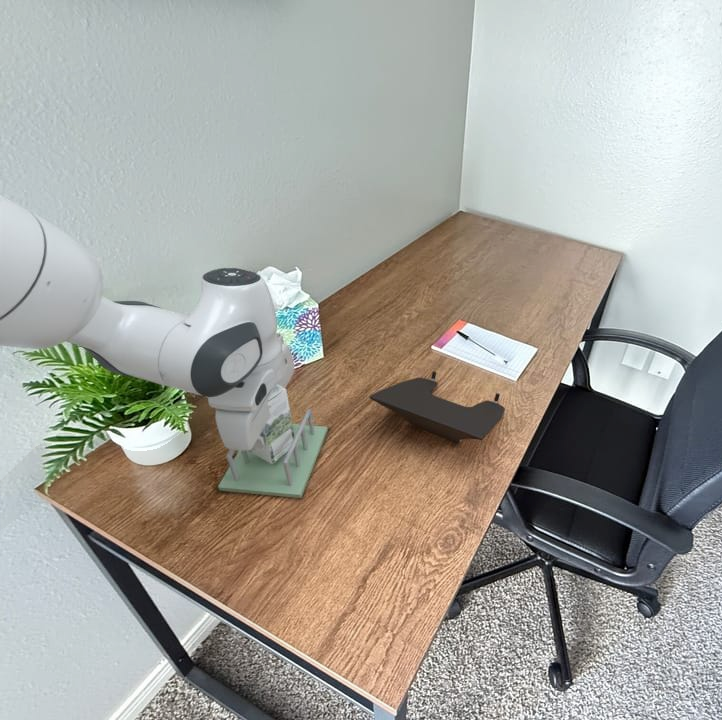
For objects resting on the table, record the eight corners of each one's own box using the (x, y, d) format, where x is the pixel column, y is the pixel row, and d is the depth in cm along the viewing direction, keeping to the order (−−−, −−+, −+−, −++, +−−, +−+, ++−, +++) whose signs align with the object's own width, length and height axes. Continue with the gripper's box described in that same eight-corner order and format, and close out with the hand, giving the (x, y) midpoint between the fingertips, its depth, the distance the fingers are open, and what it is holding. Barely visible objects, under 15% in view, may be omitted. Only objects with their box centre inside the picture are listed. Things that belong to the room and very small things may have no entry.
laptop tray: (503, 436, 104) (514, 398, 102) (473, 474, 82) (486, 427, 80) (412, 402, 109) (421, 366, 107) (361, 430, 88) (371, 385, 86)
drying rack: (301, 498, 80) (295, 471, 75) (218, 490, 79) (207, 462, 75) (328, 430, 93) (324, 403, 88) (257, 423, 92) (249, 395, 87)
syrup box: (273, 432, 87) (259, 373, 79) (297, 445, 86) (286, 386, 77) (249, 452, 83) (231, 392, 74) (273, 466, 82) (258, 407, 73)
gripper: (260, 325, 80) (274, 385, 89) (200, 407, 64) (224, 471, 73) (297, 329, 80) (307, 388, 89) (247, 412, 64) (264, 475, 73)
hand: (269, 426), depth 81 cm, fingers closed on syrup box, 7 cm apart
